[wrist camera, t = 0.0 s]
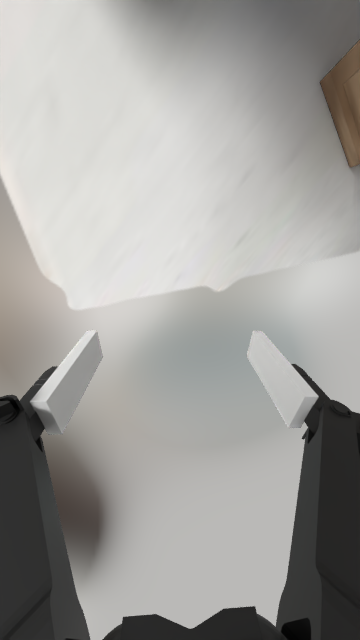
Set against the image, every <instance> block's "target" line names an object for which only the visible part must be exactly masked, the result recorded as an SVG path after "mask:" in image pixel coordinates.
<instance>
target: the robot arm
mask: <svg viewBox="0 0 360 640" xmlns="http://www.w3.org/2000/svg"><path fill="white" fill-rule="evenodd" d="M247 357H248V359H249V361H250V363H251V365H252V366H253V368H254V370H255V371H256V373H257V375H258V377H259V378H260V380H261V382H262V383H263V385H264V387H265V389H266V390H267V392H268V394H269V396H270V397H271V399H272V401H273V402H274V404H275V406H276V408H277V409H278V411H279V413H280V414H281V416H282V418H283V420H284V422H285V423H286V425H287V427H288V428H300V427H301V426H302V424H303V423H304V422H305V423H306V424H307V426H308V429H307V430H306V432H305V434H304V435H303V437H302V439H305V445H304V453H303V461H302V469H301V475H300V483H299V491H298V499H297V506H296V513H295V521H294V529H293V536H292V545H291V552H290V560H289V566H288V574H287V581H286V584H285V587H284V590H283V593H282V595H281V599H280V603H279V609H278V615H277V622H276V627H275V626H274V625H273V624H272V623H271V622H269V621H268V620H267V619H265V618H264V617H262V616H260V615H259V614H257V613H256V609H255V607H254V606H253V607H241V608H229V609H223V610H222V611H220V612H218V613H217V614H215V615H214V616H212V617H210V618H209V619H207V620H206V621H204V622H203V623H201V624H199V625H198V626H197V627H195V628H193V629H188V628H186V627H183V626H181V625H179V624H177V623H174V622H172V621H170V620H168V619H166V618H163V617H161V616H159V615H157V614H153V615H141V616H129V617H123V621H122V624H121V625H119V626H117V627H116V628H114V629H113V630H112V631H111V632H110V633H108V634H107V636H105V638H104V639H103V640H360V414H359V413H355V412H352V411H351V410H350V409H349V408H347V407H346V406H345V405H343V404H342V403H339V402H337V401H335V400H330V398H329V397H328V396H327V395H326V394H325V393H324V392H323V391H322V390H321V389H320V388H319V387H318V385H317V384H316V383H315V382H314V381H312V379H311V378H310V377H309V376H308V375H307V373H306V372H305V371H304V370H303V369H302V368H300V367H299V366H297V365H296V364H290V363H289V362H288V360H287V359H286V358H285V357H284V356H283V355H282V354H281V352H280V351H279V350H278V349H277V348H276V347H275V345H274V344H273V343H272V342H271V341H270V340H269V338H268V337H267V336H266V335H265V334H264V333H263V332H262V331H253V333H252V337H251V341H250V345H249V349H248V352H247ZM102 358H103V356H102V351H101V346H100V342H99V338H98V333H97V331H87V332H86V333H85V334H84V335H83V337H82V338H81V339H80V340H79V341H78V343H77V344H76V345H75V347H74V348H73V349H72V350H71V351H70V353H69V354H68V355H67V356H66V358H65V359H64V360H63V361H62V363H61V364H60V365H59V366H58V367H51V368H50V369H48V370H47V371H45V372H44V373H43V374H42V376H41V377H40V378H39V380H37V381H36V382H35V384H34V386H32V387H31V388H30V389H29V391H28V392H27V393H26V394H25V395H24V396H23V397H22V399H21V400H20V401H19V400H18V398H17V396H14V395H6V396H3V397H0V640H90V636H89V632H88V628H87V624H86V620H85V616H84V613H83V610H82V608H81V606H80V603H79V600H78V597H77V594H76V590H75V585H74V581H73V576H72V572H71V567H70V563H69V558H68V554H67V549H66V545H65V540H64V536H63V531H62V527H61V522H60V518H59V514H58V509H57V504H56V500H55V495H54V491H53V486H52V482H51V477H50V473H49V468H48V464H47V460H46V455H45V450H44V446H43V441H42V438H41V436H40V435H41V434H42V432H43V430H44V429H45V430H46V432H47V433H48V434H49V435H50V434H51V435H52V434H63V432H64V430H65V428H66V426H67V424H68V422H69V420H70V419H71V417H72V415H73V413H74V411H75V409H76V407H77V405H78V403H79V401H80V399H81V398H82V396H83V394H84V392H85V390H86V388H87V386H88V384H89V382H90V380H91V379H92V377H93V375H94V373H95V371H96V369H97V367H98V365H99V363H100V361H101V359H102ZM305 437H306V438H305Z"/></svg>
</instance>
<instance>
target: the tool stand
mask: <svg viewBox="0 0 360 640" xmlns="http://www.w3.org/2000/svg"><path fill="white" fill-rule="evenodd" d="M320 84H321V86H322V89H323V92H324V95H325V98H326V101H327V104H328V106H329V109H330V112H331V115H332V118H333V121H334V124H335V126H336V129H337V132H338V135H339V138H340V141H341V144H342V146H343V149H344V152H345V155H346V158H347V161H348V164H349V166H350V167H353V166H356V165H359V164H360V40H359V41H358V42H357V43H356V44H355V45H354V46H353V47H352V48H351V50H350V51H349V52H348V53H347V54H346V55H345V56H344V57H343V58H342V59H341V60H340V61H339V62H338V63H337V64H336V65H335V67H334V68H333V69H332V70H331V71H330V72H329V73H328V74H327V75H326V76H325V77H324V78H323V79H322V80H321V81H320Z"/></svg>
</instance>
